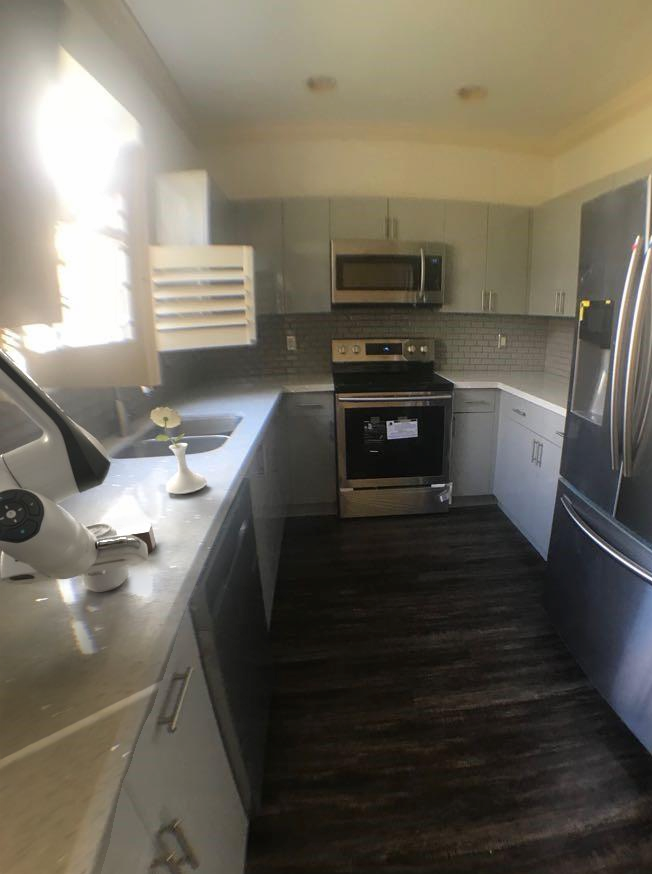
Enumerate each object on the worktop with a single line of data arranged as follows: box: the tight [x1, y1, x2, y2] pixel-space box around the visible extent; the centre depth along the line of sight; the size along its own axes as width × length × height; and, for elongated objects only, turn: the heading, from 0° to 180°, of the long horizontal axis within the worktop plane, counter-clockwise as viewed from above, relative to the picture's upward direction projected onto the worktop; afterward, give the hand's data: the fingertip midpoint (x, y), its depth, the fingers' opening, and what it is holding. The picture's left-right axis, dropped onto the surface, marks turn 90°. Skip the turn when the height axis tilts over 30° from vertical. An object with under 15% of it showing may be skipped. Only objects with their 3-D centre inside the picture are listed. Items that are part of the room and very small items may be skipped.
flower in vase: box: [149, 406, 208, 495], centre depth 132 cm, size 13×11×25 cm
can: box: [81, 522, 129, 593], centre depth 89 cm, size 8×8×12 cm
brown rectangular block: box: [114, 523, 157, 553], centre depth 101 cm, size 14×4×5 cm, turn 108°
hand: (96, 571), depth 85 cm, fingers closed, pressing on can
